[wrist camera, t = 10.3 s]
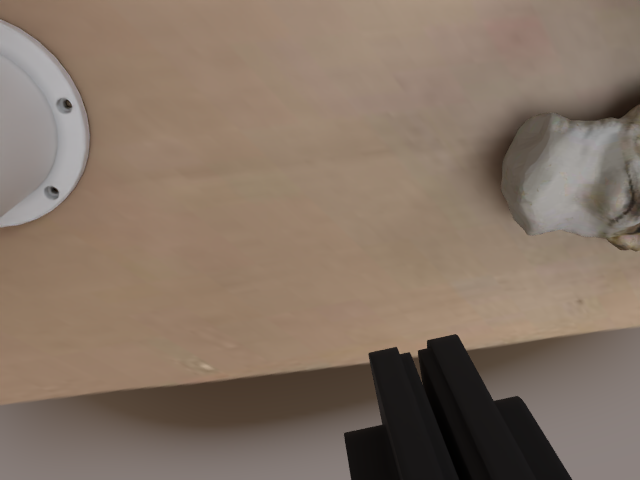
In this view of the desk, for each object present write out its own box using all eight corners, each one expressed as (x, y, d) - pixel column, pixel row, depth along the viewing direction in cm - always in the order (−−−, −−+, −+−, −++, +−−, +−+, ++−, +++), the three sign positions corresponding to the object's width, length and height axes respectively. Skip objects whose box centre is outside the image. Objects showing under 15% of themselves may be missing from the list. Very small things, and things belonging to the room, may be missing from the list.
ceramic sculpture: (557, 101, 26) (835, 104, 28) (484, 75, 34) (706, 78, 36) (517, 298, 31) (760, 289, 33) (460, 235, 38) (659, 230, 40)
